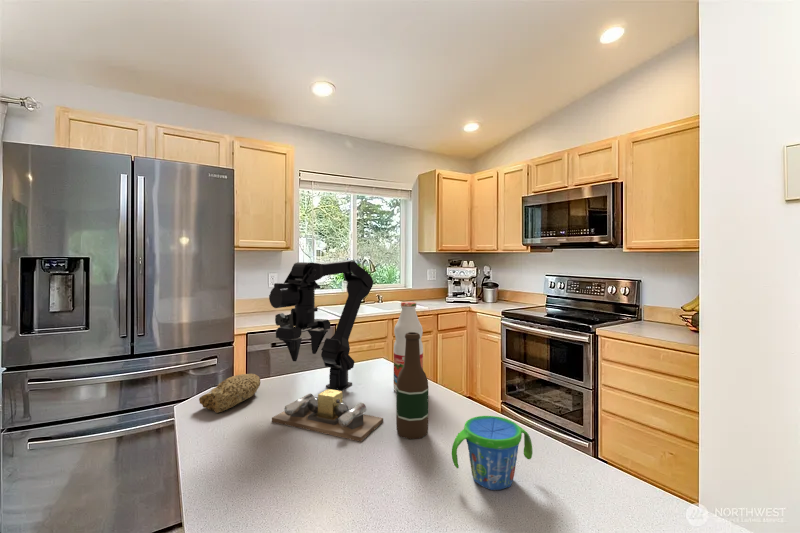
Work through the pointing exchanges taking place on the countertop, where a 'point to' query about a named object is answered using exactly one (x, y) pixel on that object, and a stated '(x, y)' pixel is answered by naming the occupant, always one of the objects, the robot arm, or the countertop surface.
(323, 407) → the block
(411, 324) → the fruit juice
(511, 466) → the snack cup
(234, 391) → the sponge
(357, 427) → the padlock latch board
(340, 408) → the shafts
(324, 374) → the countertop surface
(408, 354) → the beer bottle
